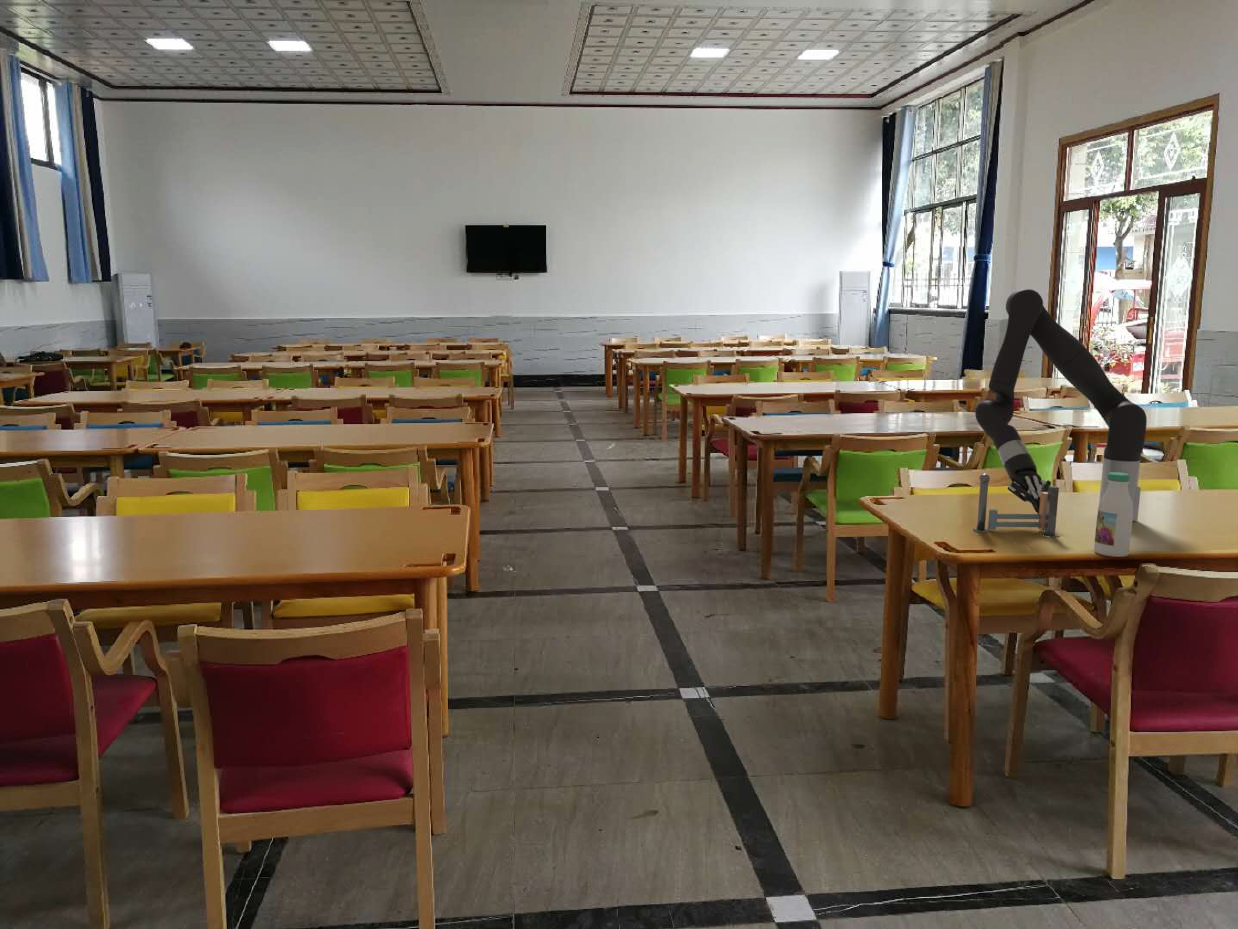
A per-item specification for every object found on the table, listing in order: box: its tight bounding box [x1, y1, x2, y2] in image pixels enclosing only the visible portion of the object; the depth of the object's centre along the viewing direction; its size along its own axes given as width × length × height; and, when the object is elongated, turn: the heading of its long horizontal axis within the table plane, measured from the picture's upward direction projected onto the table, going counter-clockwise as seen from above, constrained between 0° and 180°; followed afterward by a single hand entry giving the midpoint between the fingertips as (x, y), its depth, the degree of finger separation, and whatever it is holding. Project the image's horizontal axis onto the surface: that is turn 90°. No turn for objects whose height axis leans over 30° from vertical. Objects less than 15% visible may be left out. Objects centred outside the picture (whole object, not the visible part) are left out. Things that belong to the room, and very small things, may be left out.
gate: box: [987, 492, 1048, 532], centre depth 254 cm, size 16×2×10 cm, turn 90°
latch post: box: [1038, 485, 1061, 538], centre depth 250 cm, size 4×4×13 cm
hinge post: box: [972, 473, 991, 534], centre depth 254 cm, size 4×4×16 cm
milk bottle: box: [1093, 472, 1134, 558], centre depth 231 cm, size 8×8×20 cm
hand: (1042, 512), depth 256 cm, fingers closed
